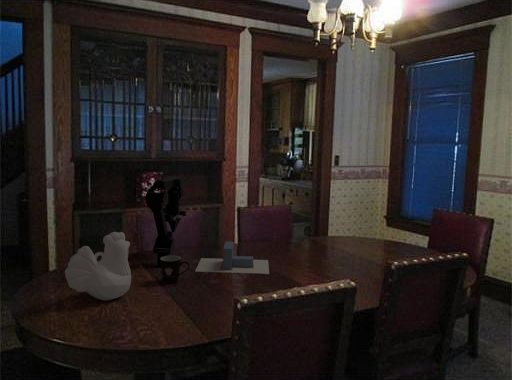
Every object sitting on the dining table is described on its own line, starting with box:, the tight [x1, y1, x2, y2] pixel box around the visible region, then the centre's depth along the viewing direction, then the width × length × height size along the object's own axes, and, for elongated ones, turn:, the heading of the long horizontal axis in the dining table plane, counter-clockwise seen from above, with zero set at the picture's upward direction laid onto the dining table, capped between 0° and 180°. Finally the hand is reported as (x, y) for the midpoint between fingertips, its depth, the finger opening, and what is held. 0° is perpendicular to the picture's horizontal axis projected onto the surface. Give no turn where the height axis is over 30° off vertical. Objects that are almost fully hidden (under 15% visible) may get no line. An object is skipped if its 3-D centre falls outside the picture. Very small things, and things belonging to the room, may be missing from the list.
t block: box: [222, 241, 254, 270], centre depth 205 cm, size 14×14×10 cm
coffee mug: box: [160, 255, 190, 285], centre depth 180 cm, size 12×9×10 cm
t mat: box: [194, 257, 270, 275], centre depth 205 cm, size 34×22×1 cm, turn 90°
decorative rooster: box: [64, 231, 132, 301], centre depth 159 cm, size 25×16×25 cm, turn 127°
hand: (173, 232), depth 216 cm, fingers closed
